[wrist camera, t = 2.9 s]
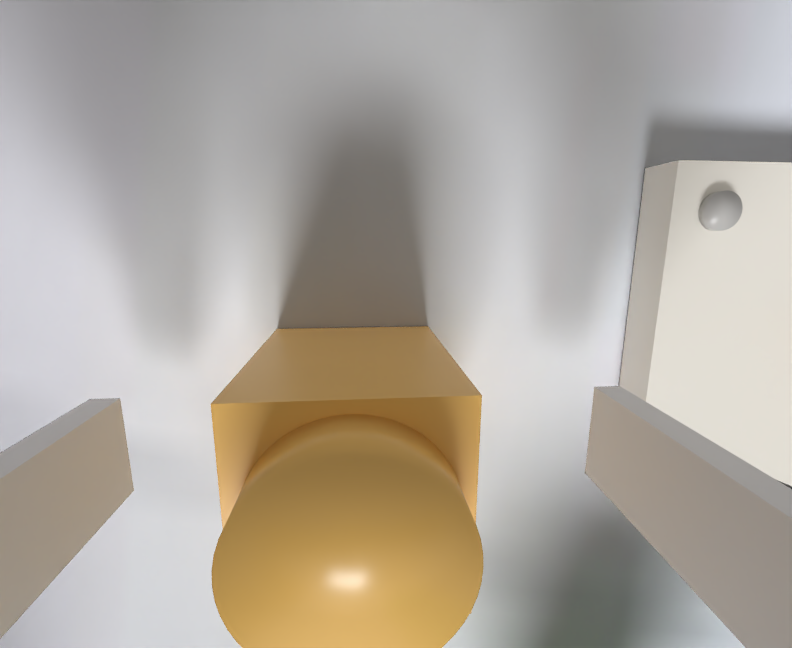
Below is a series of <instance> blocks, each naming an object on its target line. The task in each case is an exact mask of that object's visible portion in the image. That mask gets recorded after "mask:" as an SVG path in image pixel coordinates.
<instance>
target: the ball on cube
mask: <svg viewBox="0 0 792 648" xmlns="http://www.w3.org/2000/svg"><path fill="white" fill-rule="evenodd" d="M481 402H482V395H481V394H480V392H479V391H478V390H477V389H476V387H475V386H474V385H473V383H472V382H471V381H470V380H469V378H468V377H467V376H466V375H465V373H464V372H463V371H462V369H461V368H460V367H459V366H458V364H457V363H456V362H455V360H454V359H453V358H452V357H451V355H450V354H449V353H448V351H447V350H446V349H445V348H444V346H443V345H442V344H441V343H440V341H439V340H438V339H437V337H436V336H435V335H434V334H433V332H432V331H431V330H430V328H429V327H428V326H416V327H355V328H295V329H277V330H276V331H275V332H274V333H273V334H272V335H271V336H270V337H269V339H268V340H267V341H266V342H265V343H264V344H263V345H262V347H261V348H260V349H259V350H258V351H257V352H256V353H255V354H254V356H253V357H252V358H251V359H250V360H249V361H248V362H247V364H246V365H245V366H244V367H243V368H242V369H241V370H240V371H239V373H238V374H237V375H236V376H235V377H234V378H233V379H232V381H231V382H230V383H229V384H228V385H227V386H226V387H225V388H224V390H223V391H222V392H221V393H220V394H219V395H218V396H217V398H216V399H215V400H214V401H213V402H212V403H211V412H212V422H213V433H214V443H215V453H216V464H217V474H218V485H219V495H220V505H221V516H222V526H223V531H222V533H221V535H220V537H219V539H218V543H217V546H216V549H215V553H214V557H213V565H212V589H213V594H214V599H215V603H216V606H217V609H218V612H219V614H220V617H221V619H222V620H223V622H224V624H225V626H226V628H227V630H228V631H229V632H230V634H231V635H232V636H233V638H234V639H235V640H236V642H237V643H238V644H239V645H240V646H241V647H242V648H442V647H443V646H444V645H445V644H446V643H447V642H448V641H449V640H450V639H451V638H452V637H453V636H454V635H455V634H456V632H457V631H458V630H459V629H460V627H461V626H462V625H463V623H464V622H465V620H466V619H467V617H468V615H469V614H471V610H472V608H473V606H474V603H475V601H476V599H477V596H478V593H479V589H480V586H481V582H482V574H483V550H482V544H481V538H480V535H479V532H478V529H477V526H476V505H477V484H478V463H479V443H480V422H481Z"/></svg>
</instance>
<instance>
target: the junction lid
mask: <svg viewBox="0 0 792 648" xmlns="http://www.w3.org/2000/svg"><path fill="white" fill-rule="evenodd" d="M619 386H620V387H622V388H624V389H625V390H627V391H629V392H630V393H632V394H634V395H635V396H637V397H639V398H640V399H642V400H644V401H645V402H647V403H649V404H650V405H652V406H654V407H655V408H657V409H659V410H660V411H662V412H664V413H665V414H667V415H669V416H670V417H672V418H674V419H675V420H677V421H679V422H680V423H682V424H684V425H685V426H687V427H689V428H690V429H692V430H694V431H696V432H697V433H699V434H701V435H702V436H704V437H706V438H707V439H709V440H711V441H712V442H714V443H716V444H717V445H719V446H721V447H722V448H724V449H726V450H727V451H729V452H731V453H732V454H734V455H736V456H737V457H739V458H741V459H742V460H744V461H746V462H747V463H749V464H751V465H752V466H754V467H756V468H757V469H759V470H761V471H762V472H764V473H766V474H767V475H769V476H771V477H772V478H774V479H776V480H778V481H780V482H783V483H785V484H788V485H790V486H792V162H745V161H697V160H677V161H673V162H669V163H665V164H660V165H656V166H652V167H648V168H645V175H644V183H643V191H642V200H641V208H640V216H639V224H638V233H637V241H636V249H635V258H634V266H633V274H632V282H631V291H630V299H629V307H628V315H627V324H626V332H625V340H624V349H623V357H622V365H621V373H620V382H619Z"/></svg>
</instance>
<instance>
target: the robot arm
mask: <svg viewBox="0 0 792 648" xmlns="http://www.w3.org/2000/svg"><path fill="white" fill-rule="evenodd" d="M585 473H586V474H587V475H588V477H589V478H590V479H591V480H592V481H593V482H594V483H595V484H596V485H597V486H598V487H599V488H600V490H601V491H602V492H603V493H604V494H605V495H606V496H607V497H608V498H609V499H610V500H611V502H612V503H613V504H614V505H615V506H616V507H617V508H618V509H619V510H620V511H621V512H622V514H623V515H624V516H625V517H626V518H627V519H628V520H629V521H630V522H631V523H632V524H633V525H634V527H635V528H636V529H637V530H638V531H639V532H640V533H641V534H642V535H643V536H644V537H645V539H646V540H647V541H648V542H649V543H650V544H651V545H652V546H653V547H654V548H655V549H656V551H657V552H658V553H659V554H660V555H661V556H662V557H663V558H664V559H665V560H666V561H667V562H668V564H669V565H670V566H671V567H672V568H673V569H674V570H675V571H676V572H677V573H678V574H679V576H680V577H681V578H682V579H683V580H684V581H685V582H686V583H687V584H688V585H689V586H690V588H691V589H692V590H693V591H694V592H695V593H696V594H697V595H698V596H699V597H700V598H701V599H702V601H703V602H704V603H705V604H706V605H707V606H708V607H709V608H710V609H711V610H712V611H713V613H714V614H715V615H716V616H717V617H718V618H719V619H720V620H721V621H722V622H723V623H724V625H725V626H726V627H727V628H728V629H729V630H730V631H731V632H732V633H733V634H734V635H735V636H736V638H737V639H738V640H739V641H740V642H741V643H742V644H743V645H744V646H745V647H746V648H792V486H790V485H788V484H785V483H783V482H780V481H778V480H776V479H774V478H772V477H771V476H769V475H767V474H766V473H764V472H762V471H761V470H759V469H757V468H756V467H754V466H752V465H751V464H749V463H747V462H746V461H744V460H742V459H741V458H739V457H737V456H736V455H734V454H732V453H731V452H729V451H727V450H726V449H724V448H722V447H721V446H719V445H717V444H716V443H714V442H712V441H711V440H709V439H707V438H706V437H704V436H702V435H701V434H699V433H697V432H696V431H694V430H692V429H690V428H689V427H687V426H685V425H684V424H682V423H680V422H679V421H677V420H675V419H674V418H672V417H670V416H669V415H667V414H665V413H664V412H662V411H660V410H659V409H657V408H655V407H654V406H652V405H650V404H649V403H647V402H645V401H644V400H642V399H640V398H639V397H637V396H635V395H634V394H632V393H630V392H629V391H627V390H625V389H624V388H622V387H620V386H608V387H594V396H593V405H592V414H591V423H590V432H589V440H588V449H587V458H586V467H585ZM133 491H134V488H133V482H132V475H131V468H130V461H129V455H128V448H127V441H126V435H125V428H124V421H123V415H122V408H121V401H120V398H112V399H89V400H87V401H86V402H84V403H82V404H81V405H79V406H77V407H76V408H74V409H72V410H71V411H69V412H67V413H66V414H64V415H62V416H61V417H59V418H57V419H56V420H54V421H52V422H51V423H49V424H47V425H46V426H44V427H43V428H41V429H39V430H38V431H36V432H34V433H33V434H31V435H29V436H28V437H26V438H24V439H23V440H21V441H19V442H18V443H16V444H14V445H13V446H11V447H9V448H8V449H6V450H4V451H3V452H1V453H0V639H1V638H2V636H3V635H4V634H5V633H6V632H7V631H8V630H9V629H10V628H11V626H12V625H13V624H14V623H15V622H16V621H17V620H18V619H19V618H20V616H21V615H22V614H23V613H24V612H25V611H26V610H27V609H28V608H29V606H30V605H31V604H32V603H33V602H34V601H35V600H36V599H37V598H38V596H39V595H40V594H41V593H42V592H43V591H44V590H45V589H46V588H47V586H48V585H49V584H50V583H51V582H52V581H53V580H54V579H55V578H56V576H57V575H58V574H59V573H60V572H61V571H62V570H63V569H64V568H65V566H66V565H67V564H68V563H69V562H70V561H71V560H72V559H73V558H74V556H75V555H76V554H77V553H78V552H79V551H80V550H81V549H82V548H83V546H84V545H85V544H86V543H87V542H88V541H89V540H90V539H91V538H92V536H93V535H94V534H95V533H96V532H97V531H98V530H99V529H100V528H101V526H102V525H103V524H104V523H105V522H106V521H107V520H108V519H109V518H110V516H111V515H112V514H113V513H114V512H115V511H116V510H117V509H118V508H119V506H120V505H121V504H122V503H123V502H124V501H125V500H126V499H127V498H128V496H129V495H130V494H131V493H132V492H133Z"/></svg>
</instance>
